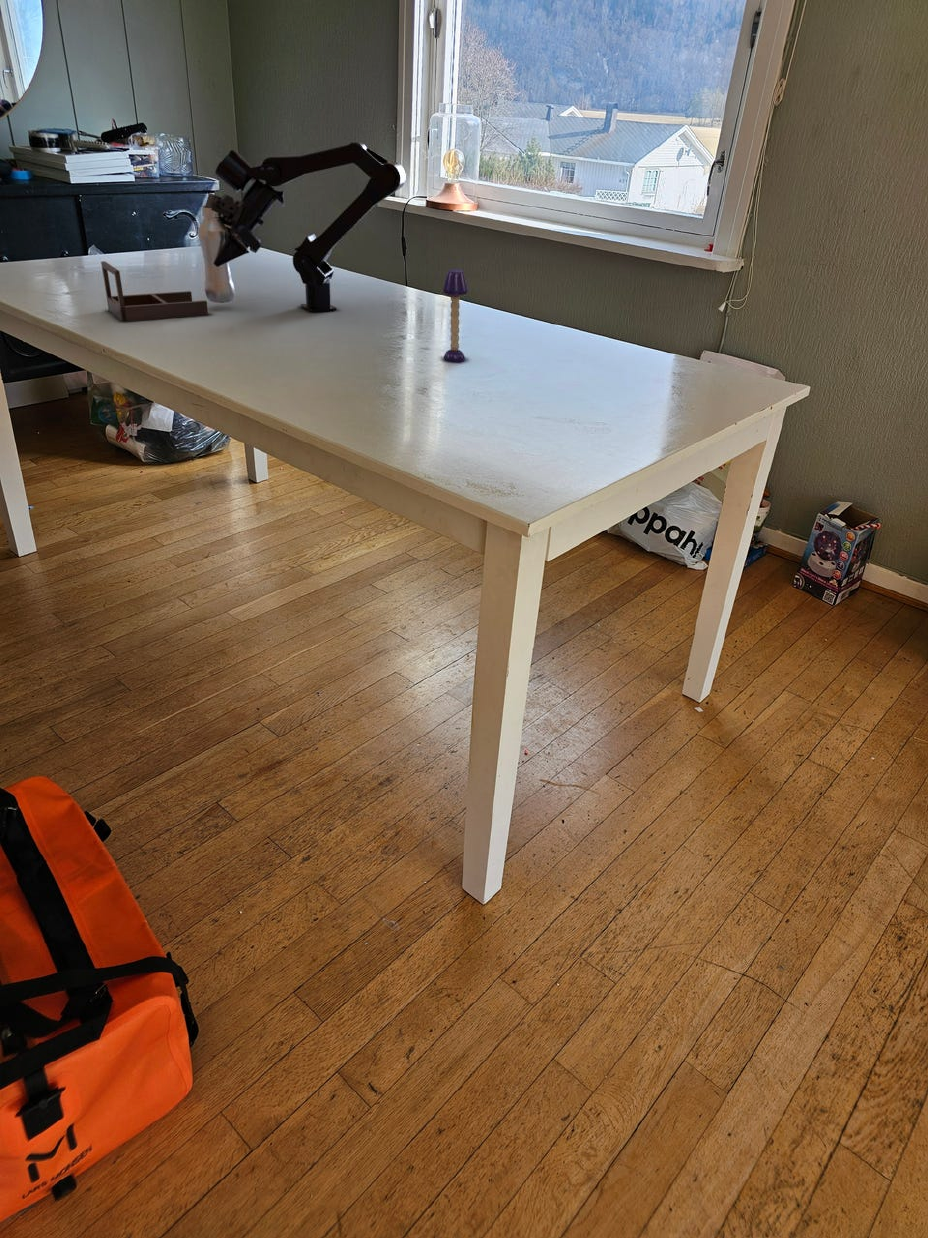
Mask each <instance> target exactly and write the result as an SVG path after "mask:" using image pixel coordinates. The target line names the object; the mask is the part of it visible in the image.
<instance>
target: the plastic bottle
mask: <svg viewBox="0 0 928 1238" xmlns="http://www.w3.org/2000/svg"><path fill="white" fill-rule="evenodd" d="M205 207H206V206H205V205H202V207H201V209H202V217H203V220H202V221H201V223H200V225H199V227H198V230H197V236H198V239H199V240H198V241H199V243H200V248H201V251H202V257H203V264H204V293H205V297H206V299H207V300H208V301H209V302H212V303H216V304H217V303H218V304H224V303H229V302H232V301H234V299H235V293H236V289H235V285H234V282H233V281H234V280H233V278H232V274H231V268H230V261H229V262H227V263H225V264H223V265H221V266H219V267H216V266H215V265H214V261H215V259H216V257H217V255H218V254H219V252H220V250H221V248H222V247H223V245H224V243H225V231H227V232H228V230H227V228H226V227H225V225H224V224H223V222H222V221H221V220H220V216H222V214H220V213H219V212H215V211H213V210H211V209H212V208H208V207H207V208H205Z"/></svg>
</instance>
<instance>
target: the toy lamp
mask: <svg viewBox="0 0 928 1238" xmlns="http://www.w3.org/2000/svg"><path fill="white" fill-rule="evenodd" d="M442 291H443V292H442V293H443V294H445V295H448V296H450V300H451V302H450V309H451V310H450V321H449V323H450V328H449V329H450V338H449V339H450V346H449V347H450V349H448V350H447V351H446V352H445V353H444V355H443V360H444V361H446V362H450V363H461V362H464V361H465V360H466V357H465V354H464V353H463V351H462V350H460V343H459V341H460V335H459V333H460V327H459V326H460V308H461V307H460V305H461V304H460V300H461V296H464V295H467V294H468V286H467V281H466V278H465V273H464V271H463V270H461V269H449V270H448V271H447V274H446V276H445V281H444V285H443V289H442Z"/></svg>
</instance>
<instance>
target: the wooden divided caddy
mask: <svg viewBox="0 0 928 1238" xmlns="http://www.w3.org/2000/svg"><path fill="white" fill-rule="evenodd" d="M100 264H101V265H100V266H101V270H102V278H103V283H104V289H105V296H106V302H107V309H108V312H110V313H111V314H112V315H114V317H116V318H117V319H119V320H120V321H121V322H122V323H127V322H138V321H152V320H153V321H154V320H165V319H175V318H176V319H177V318H186V317H187V318H188V317H189V318H191V317H200V316H201V317H202V316H209V310H208V301H207V300H193V296H192V291H191V290H188V291H187V290H185V291H184V290H183V291H172V292H171V291H170V292H169V291H168V292H156V293H155V292H154V293H153V292H152V293H141V294H140V293H139V294H125V295H124V294H123V293H124V292H123V285H122V280H121V273H120V270H119V269H118V268H116V267H114V266H113V265H111V264H110V263H108V262H107V261H105V260H104V261H100ZM109 273H110V274H112V275H113V276H114V279H115V287H116V293H117V294H116V295H112V291H111V284H110V278H109Z"/></svg>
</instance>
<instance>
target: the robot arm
mask: <svg viewBox="0 0 928 1238" xmlns="http://www.w3.org/2000/svg"><path fill="white" fill-rule="evenodd" d="M350 164H354V165H355V166H357V167H358V168H359V169H360V170H361V171H362V172H363V173H364V174H366V176H367V177H369V179H368V182H367V183H366V184H365V186H364V189H362V192H361V193H360V194H359V195H358V196H357V197H356V198H355V199H354V200H353V201H352V202H351V203H350V204H349V206H347V207H346V208H345V209H344V211H342V212H341V214H340V215H339V216H338V217H336V218H335V220H334V221H332V223H330V224H329V226H328V227H327V228H326V229H325V230H324V231H323V232H322V233H321V234H320V235H319V236H316V234H315V233H312V234H309V235H307V236H306V237H305V238H304V239H303V241H302V242H301V244H300V245H299V246H296V247H295V248H294V251H296V252H294V254H293V256H292V266H293V268H294V269H295V271H296V273H298V274H299V277H300V280H301V282H302V284H304V287H305V303H300V307H301V308H303V309H305V310H307V311H309V312H310V313H311V312H312V313H318V312H326V311H327V312H330V311H337V307H336V306H333V305H331V281H330V280H331V279H332V278H333V275H334V273H335V269H334V268H333V267H332V266H331V265H330V264H329V263H328V261H327V260H328V259H329V257H330V256H331V254H332V252H333V250H334V249H335V247H336V246H337V245H338V244H339V243H340V242H341V241H342V240H343V239H344V238H345V237H346V236H347V235H348V234H349V233H350V232H351V231H352V230H353V229H354V228H355V227H356V226H357V224H358V223H360V222H361V221H362V220H363V219H364V218H365V217H366V215H368V213H370V211H372V209H374V208H375V207H376V206H377V205H378V204H379V203H381V202H382V201H384V200H385V199H387V198H388V197H390V196H391V195H393V194H394V193H396V192H397V191H398V190H400V189H401V188H402V187H404V185H405V183H406V172H405V169H404V167H403V165H401V164H400V163H398V162H397V161H389V160H388V159H386V158H385V157H384V156H382V155H380V154H379V153H377V152H375V151H374V150H372V149H371V148H370V147H368V146H366V144H365V143H363V142H362V141H353V142H350V143H348V144H346V145H341V146H338V147H337V146H336V147H333V148H328V149H325V150H320V151H316V152H311V153H308V154H284V155H283V154H281V155H280V154H279V155H274V156H269V157H267V158H265V159H263V161H262V163H261V164H257V165H252V164H251V163H250V162H248V161H247V160H246V159H245V158H244V157H243V156H242V155H241V154H240V152H238V151H237V150H236V149H231V150H230V151H229V152H228V154H226V155H225V157H224V158H223V159H222V161H219V163H218V165H217V166H216V169H215V172H214V174H215V176H216V177H217V178H219V180H221V181H222V182H223V183H224V184H225V185H226V186H227V187H229V188H230V189H231V190H232V191H234V192H235V193H237V194H238V193H240V192H242V193H245V194H244V195H243V196H242V197H241V199H240V200H238V199H236V200H234V198H233V196H230V195H228V194H223V195H222V196H219V195H216V194H213V193H210V192H209V193H208V196H207V198H206V202H205V205H204V206H206V207H205V208H207V207H208V208H212V209H211V210H213V211H215V212H219V213H220V214H221V216H220V220H221V221H222V222H223V224H224V225H225V227H226V228H227V230H228V232H227V231H225V243H224V245H223V247H222V248H221V250H220V252H219V254H218V255H217V257H216V259H215V261H214V265H215V266H216V267H219V266H221V265H223V264H225V263H227V262H229V263H230V262H231V261H233V260H235V259H237V258H240V257H242V256H244V255H247V254H250V252H252V253H254V254H257V253H258V251H259V250H260V249H261V247H262V243H261V239H259V237H258V236H257V235H256V234H255V233H254V231H255V229H256V228H257V226H262V225H263V224H264V220H263V219H264V218H265V216H266V214H268V213H269V211H270V209H271V208H272V207H273V206H274V204H275V203H277V204H278V205H279V206H280V207H281V208H285V199H284V197H285V192H284V191H283V190H277V189H276V188H274V187H280V186H284V185H287V184H289V183H291V182H293V181H295V180H298V179H300V178H301V177H303V176H306V175H307V174H311V173H316V172H319V171H324V170H328V169H333V168H337V167H342V166H346V165H350ZM263 181H264V182H265V183H264V182H263ZM248 249H249V250H248Z"/></svg>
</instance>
